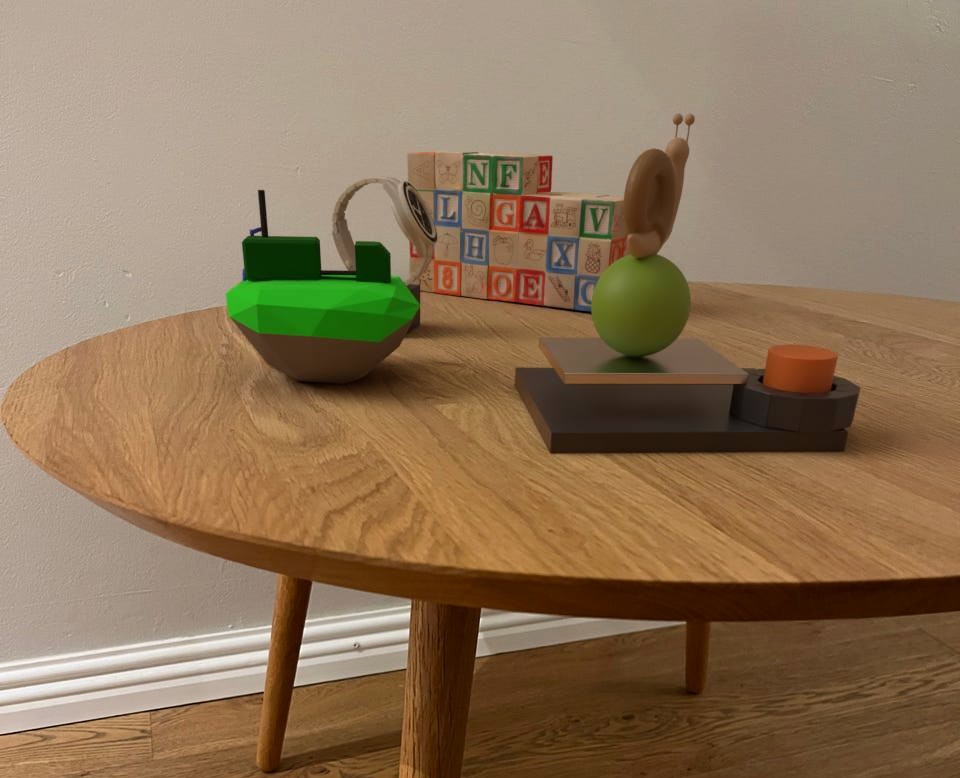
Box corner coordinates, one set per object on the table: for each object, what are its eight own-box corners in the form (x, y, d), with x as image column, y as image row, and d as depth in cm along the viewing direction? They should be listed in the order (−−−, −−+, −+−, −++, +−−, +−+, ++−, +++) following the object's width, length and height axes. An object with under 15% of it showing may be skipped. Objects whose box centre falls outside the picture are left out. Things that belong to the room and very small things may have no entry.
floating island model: (222, 401, 55) (198, 197, 50) (247, 356, 65) (231, 183, 60) (423, 402, 56) (422, 202, 51) (418, 357, 66) (417, 187, 61)
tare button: (813, 381, 53) (821, 344, 52) (841, 398, 49) (849, 359, 48) (752, 381, 52) (758, 344, 51) (776, 398, 49) (783, 359, 48)
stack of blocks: (632, 306, 87) (647, 158, 81) (604, 316, 82) (618, 160, 76) (442, 282, 97) (442, 148, 91) (407, 289, 92) (405, 149, 86)
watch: (426, 339, 72) (426, 181, 66) (328, 332, 73) (320, 177, 68) (443, 325, 77) (444, 177, 71) (350, 319, 78) (344, 173, 73)
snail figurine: (702, 350, 54) (735, 115, 48) (663, 371, 49) (694, 113, 43) (617, 338, 57) (638, 112, 51) (571, 357, 52) (589, 110, 46)
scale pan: (696, 348, 58) (698, 338, 57) (747, 384, 50) (749, 373, 50) (538, 347, 57) (538, 337, 56) (564, 384, 49) (565, 373, 49)
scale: (769, 386, 62) (778, 340, 60) (868, 454, 50) (881, 398, 48) (514, 386, 60) (516, 338, 59) (550, 456, 48) (554, 398, 46)
